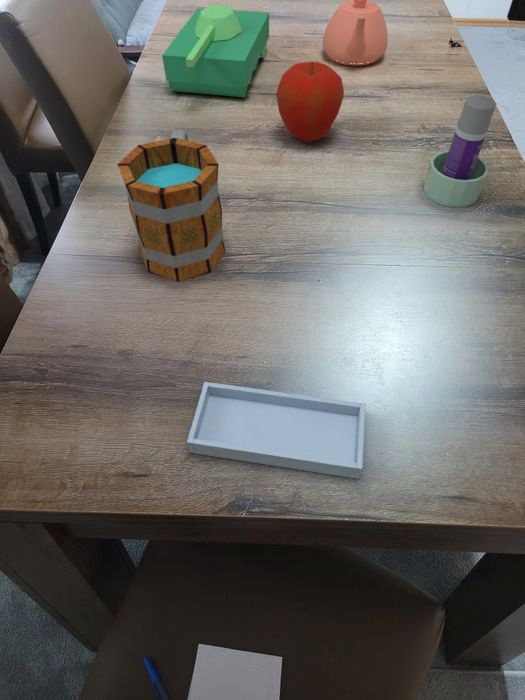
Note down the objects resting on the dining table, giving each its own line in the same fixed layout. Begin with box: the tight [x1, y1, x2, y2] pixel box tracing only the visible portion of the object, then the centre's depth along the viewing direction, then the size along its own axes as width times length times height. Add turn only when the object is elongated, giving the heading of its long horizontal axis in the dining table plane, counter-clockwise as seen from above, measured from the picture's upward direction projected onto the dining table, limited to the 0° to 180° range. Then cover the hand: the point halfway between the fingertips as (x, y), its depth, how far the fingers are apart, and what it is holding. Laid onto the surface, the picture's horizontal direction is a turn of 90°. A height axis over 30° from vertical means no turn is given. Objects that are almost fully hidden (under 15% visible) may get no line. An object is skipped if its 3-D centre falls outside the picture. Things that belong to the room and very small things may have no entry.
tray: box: [186, 381, 366, 480], centre depth 56 cm, size 19×8×3 cm, turn 80°
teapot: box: [322, 0, 389, 67], centre depth 116 cm, size 22×16×12 cm
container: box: [442, 95, 497, 180], centre depth 80 cm, size 5×5×15 cm
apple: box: [275, 61, 345, 143], centre depth 92 cm, size 12×12×14 cm
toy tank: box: [161, 4, 270, 98], centre depth 109 cm, size 18×12×35 cm
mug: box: [117, 129, 227, 282], centre depth 73 cm, size 20×14×15 cm
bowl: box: [423, 150, 490, 208], centre depth 85 cm, size 9×9×5 cm
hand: (514, 6), depth 65 cm, fingers open, 9 cm apart
